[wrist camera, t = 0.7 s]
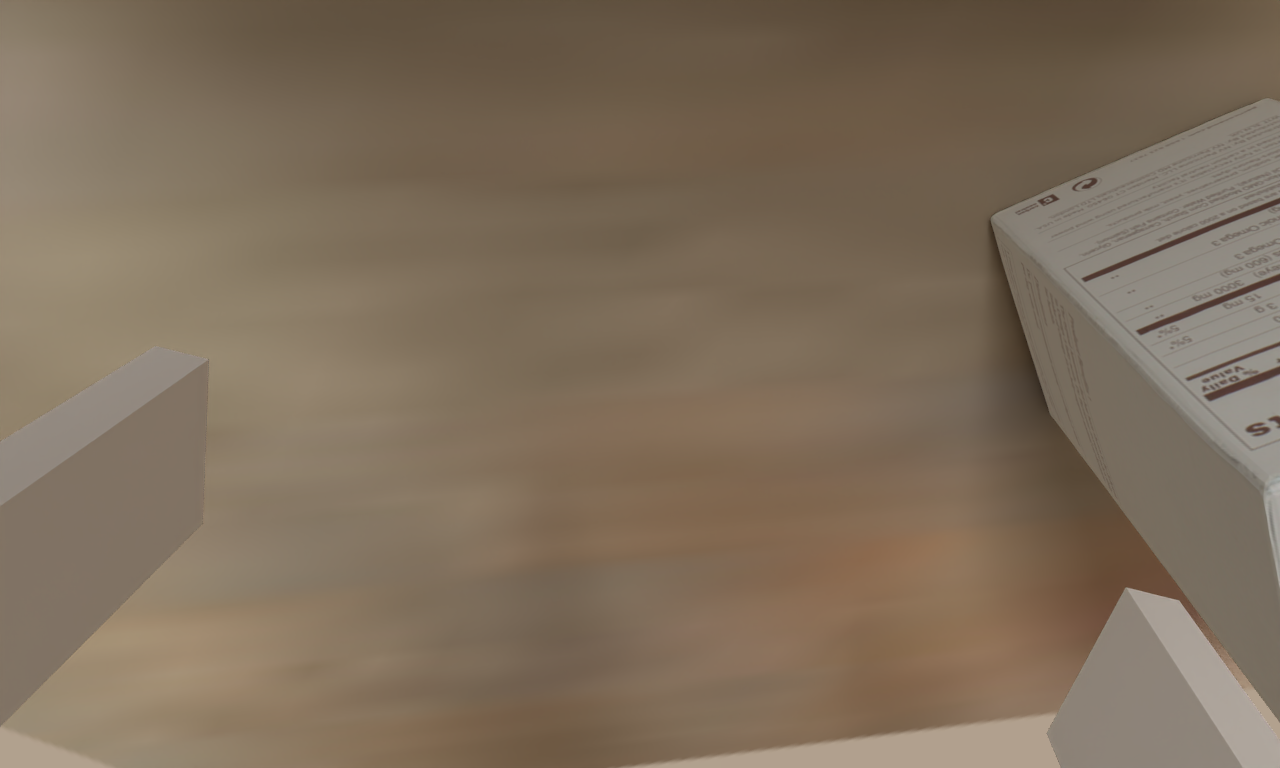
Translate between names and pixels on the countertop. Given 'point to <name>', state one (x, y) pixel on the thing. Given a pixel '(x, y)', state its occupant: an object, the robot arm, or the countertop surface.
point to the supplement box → (1172, 356)
